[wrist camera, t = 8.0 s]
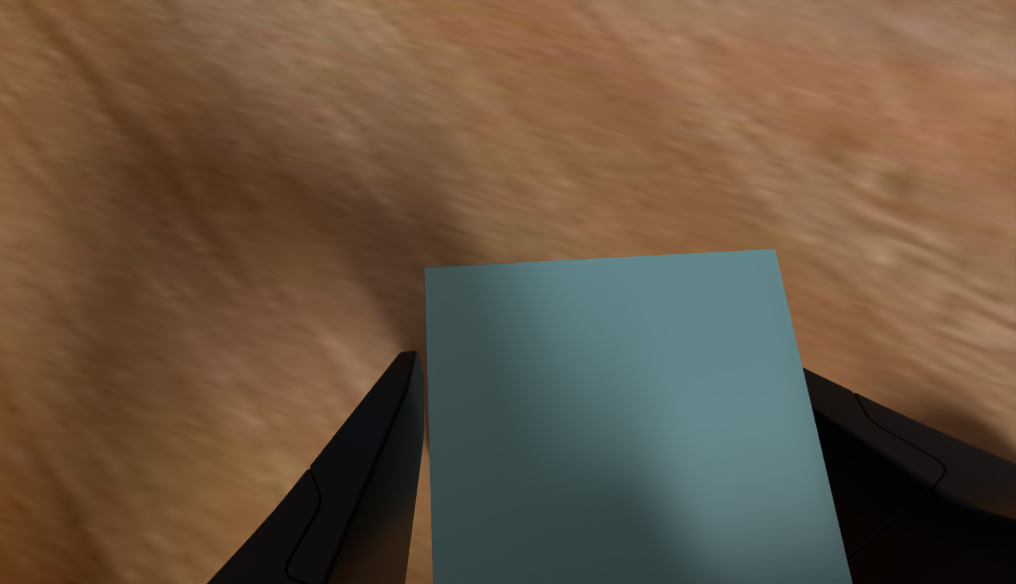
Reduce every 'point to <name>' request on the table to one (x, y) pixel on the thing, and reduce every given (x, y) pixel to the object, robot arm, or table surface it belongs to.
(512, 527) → the teal pillar
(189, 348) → the table surface
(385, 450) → the robot arm
